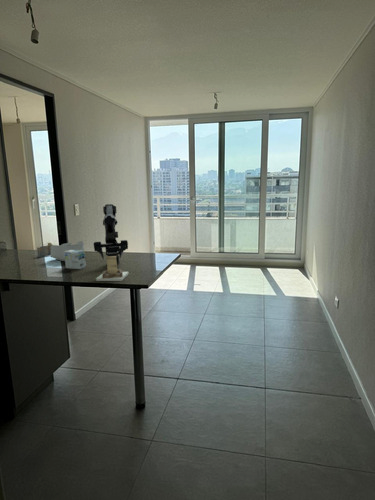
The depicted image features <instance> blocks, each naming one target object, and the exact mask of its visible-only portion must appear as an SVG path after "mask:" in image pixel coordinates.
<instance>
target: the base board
mask: <svg viewBox="0 0 375 500" xmlns="http://www.w3.org/2000/svg"><path fill="white" fill-rule="evenodd" d="M122 274H123V277H114V278H103V273H102V274H100V275H99V276H97V277H96V278H95V281H96V282H100V281H101V282H103V281H105V282H122V281H123V280H124V279H126V278H127V276H128V275H129V274H130V272H129V271H122Z"/></svg>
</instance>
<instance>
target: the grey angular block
mask: <svg viewBox="0 0 375 500" xmlns="http://www.w3.org/2000/svg"><path fill="white" fill-rule="evenodd" d="M69 250H84V251H85V247H84V241H83V240H77V241H76V244H72V242H66V243H62V244H61V245H55V244H52V246H51V254H50V255H49V256H50V258H53V259H55V260H58V261H62V262H65V256H64V252H65V251H69Z"/></svg>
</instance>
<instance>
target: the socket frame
mask: <svg viewBox="0 0 375 500" xmlns="http://www.w3.org/2000/svg"><path fill="white" fill-rule="evenodd" d="M122 272H123V269H117V274H109V275H108V270H103V271H102V274H103V278H114V277H123V274H122Z"/></svg>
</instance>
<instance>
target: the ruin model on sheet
mask: <svg viewBox="0 0 375 500" xmlns="http://www.w3.org/2000/svg"><path fill="white" fill-rule="evenodd" d="M52 245H53V243H51V242H47V245H44V246H39V247H36V250H37V251H36V252H37V257H38V258H43V257H44V258H45V257H49V256H50V254H51V246H52Z"/></svg>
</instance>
